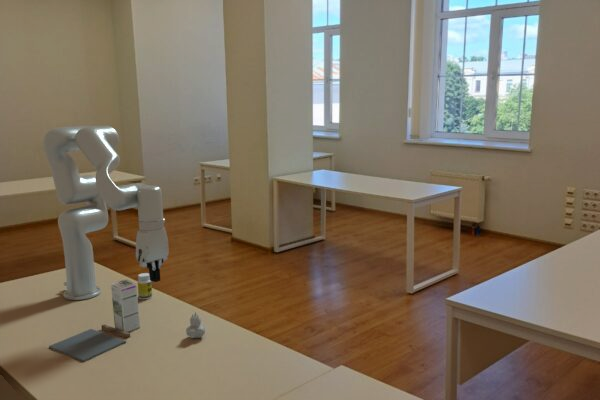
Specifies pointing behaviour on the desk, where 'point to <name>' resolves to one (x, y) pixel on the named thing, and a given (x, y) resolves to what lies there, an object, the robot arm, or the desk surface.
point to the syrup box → (125, 305)
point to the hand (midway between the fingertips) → (155, 280)
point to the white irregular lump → (195, 327)
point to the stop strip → (115, 331)
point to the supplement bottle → (144, 286)
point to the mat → (87, 345)
